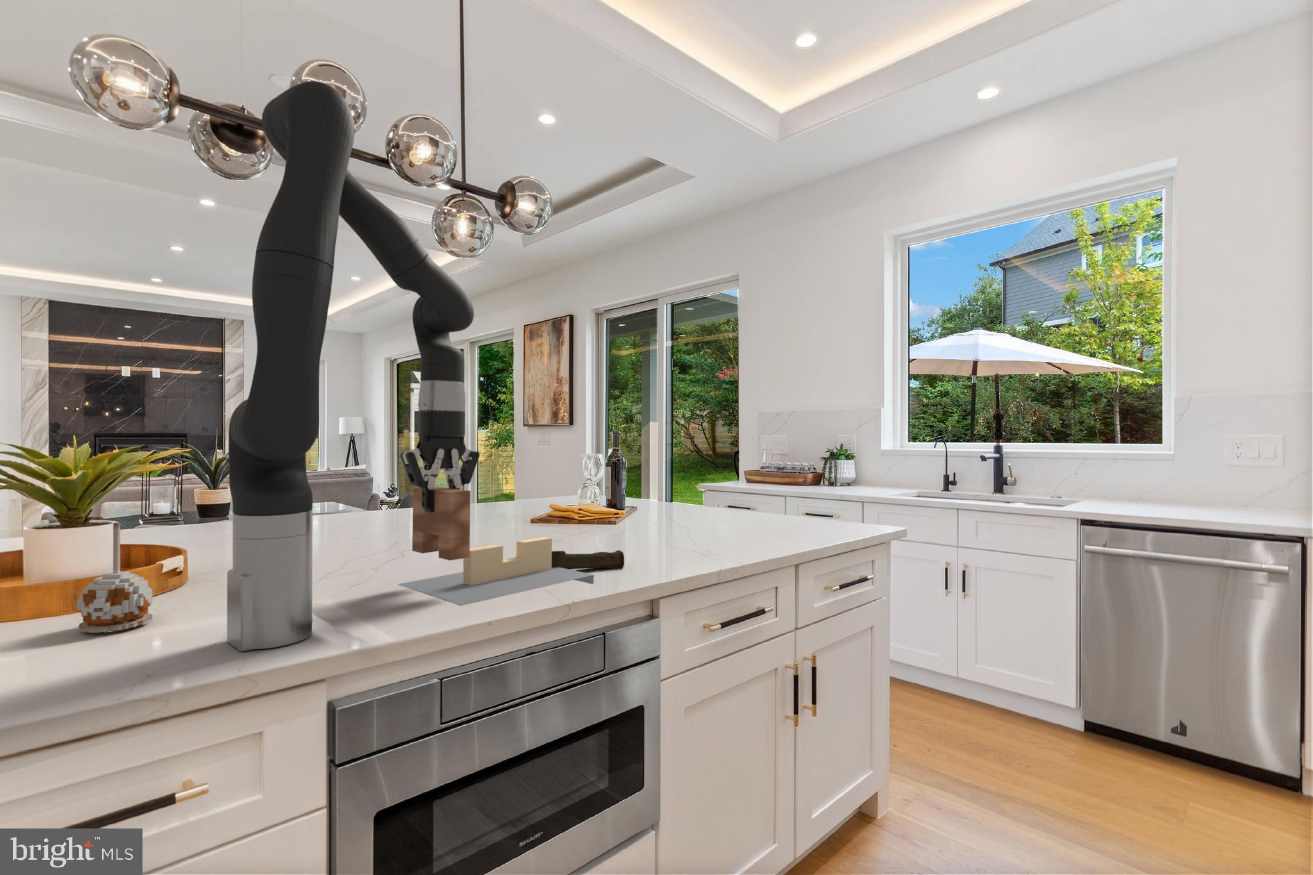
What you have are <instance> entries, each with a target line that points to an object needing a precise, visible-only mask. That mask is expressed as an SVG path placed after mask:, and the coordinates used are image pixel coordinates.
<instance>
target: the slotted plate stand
mask: <svg viewBox="0 0 1313 875" xmlns="http://www.w3.org/2000/svg"><path fill="white" fill-rule="evenodd" d="M552 543H553V538H552V537H546V536H542V537H533V538H529V539H522V540H516V556H513V557H508V558H504V546H503V545H499V544H490V545H483V546H477V547H476V546H475V547H470V557H469V558H463V559H462V560H463V568H462V569H463V571H461V572H456V573H450V574H446V575H445V574H444V575H439V576H435V577H429V578H423V579H418V580H412V581H408V582H401V583H398V585H399V586H402V587H404V588H408V589H411V590H413V591H416V592H419V593H421V594H422V593H423V594H425V595H429V596H431V597H434V598H436V599H437V598H438V599H440V600H443V601H446V602H449V603H453V604H455V605H458V606H465V605H466V606H467V605H469V604H475V603H478V602H482V601H488V600H492V599H497V598H500V597H501V598H502V597H504V596H509V595H513V594H518V593H522V592H523V593H524V592H526V591H532V590H535V589H539V588H544V587H549V586H552V585H556V584H561V583H565V582H570V581H578V582H582V583H585V584H589V585H590V584H591V585H592V584H595V582H594V581H595V580H594V577H595V575H594V574H592V573H587V572H582V571H578V570H575V569H565V568H561V567H552V551H553V550H552V549H553V548H552V546H553V544H552Z"/></svg>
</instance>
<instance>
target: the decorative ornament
mask: <svg viewBox="0 0 1313 875" xmlns="http://www.w3.org/2000/svg"><path fill="white" fill-rule="evenodd" d="M77 599H78V600H76V602H75V603H76V610H78V612H79V613H80V617H82V622H80V623H79V624H78V626H77V630H78V631H80V632H81V633H89V634H90V633H91V634H94V633H95V634H96V633H97V634H100V633H101V632H104V633H110V632H109V631H116V632H118V631H117V630H122V629H125V630H128V629H127V628H131V629H132V627H133V628H135V627H137V626H142V625H145V624H147V623H149V622H151V621H153V614H151V613H149V607H150V606H153V587H151V586H149V580H147V579H145V577H144V576H140V574H136V573H131V570H130V571H129V570H128V571H121V521H120V522H113V523H112V572H108V573H106V574H103V575H102V576H100V577H97V578H93V580H92V582H90V583H88V584H87V586H86V587H83V589H82V594H81V595H79V596H78V598H77ZM122 631H123V630H122ZM99 632H100V633H99ZM101 634H102V633H101Z"/></svg>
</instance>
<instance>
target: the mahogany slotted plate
mask: <svg viewBox="0 0 1313 875" xmlns="http://www.w3.org/2000/svg"><path fill="white" fill-rule="evenodd" d="M433 490H435V497H434V512H430V513H429V512H425V511H424V509H423V508H422V490H421V488H419V487H417V486H413V488H412V534H411V535H412V542H411V546H412V547H411V548H412V549H411V551H412V552H415V553H418V554H427V553H434V552H438V558H439V559H443V560H446V561H456V560H463V558H469V557H470V548H471V546H470V544H471V537H470V536H471V533H470V532H471V490H467V489H461V488H460V489H451V488H449V487H443V486H441V487H440V486H434V489H433Z"/></svg>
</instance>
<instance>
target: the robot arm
mask: <svg viewBox="0 0 1313 875" xmlns="http://www.w3.org/2000/svg"><path fill="white" fill-rule="evenodd" d="M261 124H262V130H263V132H264V134H265V137H266V139H267V141H268V142H269V143H270V145H271V146H272V147H273V149H274V150H275V151H276V152H277V153H278V154H279V155H280V156H281V158H282V159H283V160H284V161H285V167H284V173H283V177H282V180H281V182H280V183H281V184H280V186H279V189H278V191H277V193H276V196H275V198H274V200H273V202H272V204H271V206H270V209H269V210H268V213H267V215H266V217H265V220H264V222H263V225H262V228H261V231H260V233H259V237H258V241H257V245H256V249H255V257H254V265H253V271H252V272H253V273H252V284H251V300H252V301H251V302H252V303H251V304H252V312H253V320H254V327H255V335H256V336H255V337H256V358H255V359H256V360H255V366H254V370H253V374H252V375H253V377H252V379H251V386H250V390H249V393H248V397H247V399H245V400H244V401H241V403H240V404H238V406H237V407H236V408H235V409H234V411H233V412H232V414H231V417H230V420H229V425H228V477H229V480H228V483H229V491H230V495H231V502H232V568H231V569H228V570H227V574H226V575H227V576H226V581H227V582H226V642H227V643H228V644H230V645H232V646H233V647H234V648H235V649H237V650H238V651H240V652H246V651H250V650H263V649H271V648H277V647H285V646H288V645H292V644H295V643H298V642H301V641H303V640H305V639H308V638H309V637H310V636H312V634H313V621H314V620H313V619H314V618H313V529H314V528H313V523H314V522H313V520H314V519H313V515H314V514H313V513H314V512H313V507H314V506H313V497H314V496H313V491H312V489H311V486H310V484H309V480H308V475H307V455H306V453H308V451H310V450H311V449H312V447H313V445H314V444H315V443H316V439H317V438H318V436H319V431H320V364H321V354H322V348H323V344H324V339H325V332H326V328H327V320H328V314H329V306H330V301H331V293H332V285H333V279H334V278H333V277H334V276H333V275H334V269H335V252H336V245H337V238H338V237H337V236H338V231H339V230H338V228H339V218H340V217H341V218H342V220H343V221H344V222H345V223H346V224H347V225H348V226H349V228H350V229H352V231H354V233H355V234H356V235H357V236H358V238H359V239H360V240H361V241H362V242H363V243H364V245H365V246H366V247H367V248H368V250H369V251H370V252H371V253H372V255H373V256H374V258H375V260H377V262H378V263H379V264H380V266H381V267H382V268H383V270H384V271H385V272H386V274H387V275H388V276H389V278H391V280H392V281H393V282H394V283H395V284H396V285H397V286H398V287H399V288H400V289H401V290H404V291H409V292H413V293H415V294H417V295H418V296H419V297H418V298H417V300H416V301H415V303H414V305H413V309H412V316H411V317H412V327H413V331H414V335H415V339H416V344H417V348H418V351H419V355H420V384H419V389H418V390H419V392H418V403H417V406H418V409H417V410H418V415H417V416H418V418H417V420H418V422H417V427H418V428H417V435H418V442H417V444H416V447H415V448H413V449H411V450H409V451H402V452H401V453H400V458H401V461H402V464H403V468H404V470H405V472H406V475H407V478H408V480H409V484H410V485H411V486H413V487H419V488H421V490H422V508H423V509H424V511H425V512H429V513H430V512H434V497H435V490H433V489H434V487H436V483H437V482H436V480H437V478H438V477H439V474H440V470H442V471H443V474H444V475H445V477H446V484H447V486H448V488H451V489H460V490H461V487H463V486H464V485H469V484H471V481H472V478H473V476H474V472H475V469H476V467H477V464H478V461H479V459H480V452H479V451H475V450H471V449H469V448H467V446H466V443H465V441H464V438H465V436H466V391H465V390H466V389H465V356H464V353H463V352H462V350H460V349H459V348H457V347H453V346H452V343H451V339H450V333H455V332H462V331H465V330H466V329H468V328H469V327H470V326H471V325H472V323H473V321H474V319H475V318H474V317H475V312H474V311H475V310H474V306H473V303H472V300H471V298H470V296H469V294H467V291H466V290H465V289H464V288H463V287H462V286H461V285H460V284H459V283H458V282H457V281H456V280H455V279H454V278H452V277H451V275H449V274H448V273H447V272H446V271H445V270H444V269H443V268H442V267H441V266H439V265H438V264H437V263H436V262H434V260H433V259H432V257H431V256H430V254H429V253H428V252H427V250H426V249H425V247H424V246H423V244H422V243H421V242H420V240H419V239H418V238H417V236H416V235H415V233H414V232H413V231H412V229H411V228H410V227H409V226H408V224H406V222H405V221H404V220H403V219H402V218H401V217H400V216H399V215H397V214H396V213H395V211H393V210H392V209H390V207H388V206H387V205H385V204H384V203H383V202H382V201H380V200H379V199H378V198H376V197H375V196H374V195H373V194H372V193H370V191H369V190H367V189H366V188H365V187H364V186H363V185H362V184H361V183H360V182H359V181H358V180H357V179H356V178H355V177H354V175H353V174H352V173H351V171H350V170H349V169H348V166H349V162H350V158H351V154H352V150H353V147H354V146H353V145H354V141H355V122H354V116H353V112H352V111H351V108H350V106H349V104H348V103H347V101H346V99H344V97H343V95H342V94H341V93H340V92H339V91H338V90H337V89H335V87H332V86H331V85H329V84H327V83H325V82H322V81H317V80H311V81H304V82H300V83H296V84H295V85H293V86H291V87H289V88H288V89H286V90H285V91H283V92H282V93H280V94H278V95H277V96H276V97H274V98H273V99H271V100H269V102H267V104H266V105H265V106H264V108H263V111H262V114H261ZM419 457H420V458H419ZM420 459H421V460H422V461H423V464H422V468H420V465H419V463H418V462H419V461H420ZM461 459H462V460H463V461H462V464H461V466H460V460H461Z"/></svg>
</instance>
